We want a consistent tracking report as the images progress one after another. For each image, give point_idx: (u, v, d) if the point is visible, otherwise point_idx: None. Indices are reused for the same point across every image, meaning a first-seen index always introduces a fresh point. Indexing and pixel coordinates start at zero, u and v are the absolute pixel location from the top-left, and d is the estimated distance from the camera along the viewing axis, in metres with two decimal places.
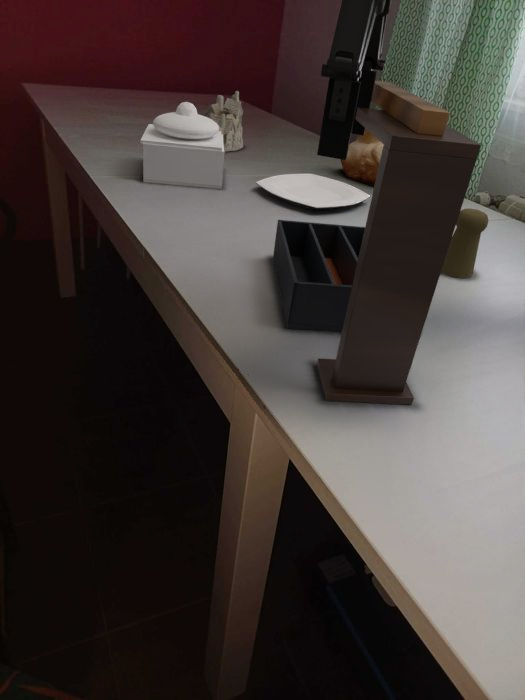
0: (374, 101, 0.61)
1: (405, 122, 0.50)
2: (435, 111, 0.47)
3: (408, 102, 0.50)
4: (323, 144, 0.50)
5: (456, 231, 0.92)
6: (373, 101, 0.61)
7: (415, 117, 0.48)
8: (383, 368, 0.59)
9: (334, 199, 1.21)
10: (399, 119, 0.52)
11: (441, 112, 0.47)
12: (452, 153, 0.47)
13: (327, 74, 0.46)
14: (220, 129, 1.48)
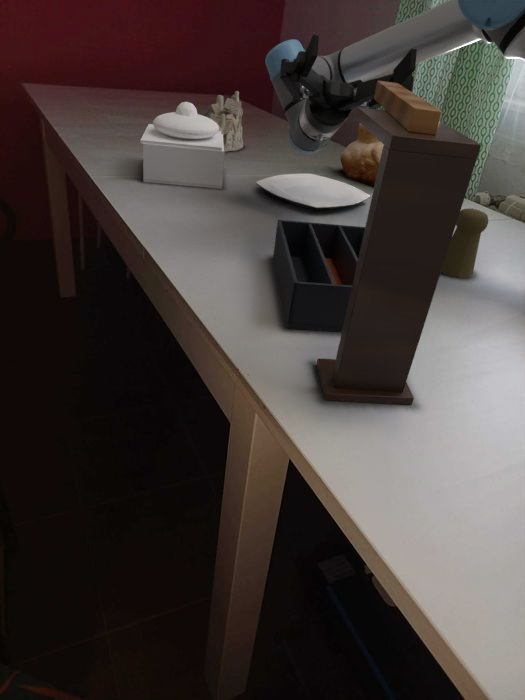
0: (379, 101, 0.61)
1: (401, 121, 0.51)
2: (427, 110, 0.47)
3: (404, 101, 0.50)
4: (310, 55, 0.72)
5: (456, 231, 0.92)
6: (379, 101, 0.61)
7: (409, 116, 0.48)
8: (383, 368, 0.59)
9: (334, 199, 1.21)
10: (397, 118, 0.52)
11: (433, 111, 0.47)
12: (452, 153, 0.47)
13: (294, 77, 0.77)
14: (220, 129, 1.48)
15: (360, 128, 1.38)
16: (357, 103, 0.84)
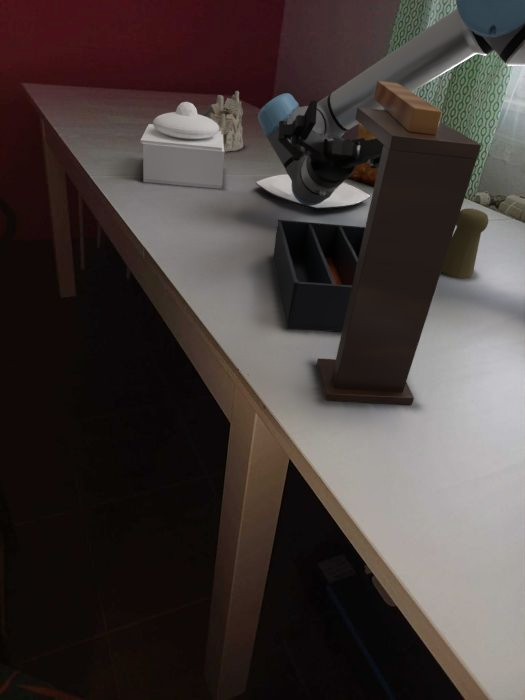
0: (379, 101, 0.61)
1: (401, 121, 0.51)
2: (427, 110, 0.47)
3: (404, 101, 0.50)
4: (308, 121, 0.68)
5: (456, 231, 0.92)
6: (379, 101, 0.61)
7: (409, 116, 0.48)
8: (383, 368, 0.59)
9: (334, 199, 1.21)
10: (397, 118, 0.52)
11: (433, 111, 0.47)
12: (452, 153, 0.47)
13: (292, 140, 0.74)
14: (220, 129, 1.48)
15: (360, 128, 1.38)
16: (360, 162, 0.80)
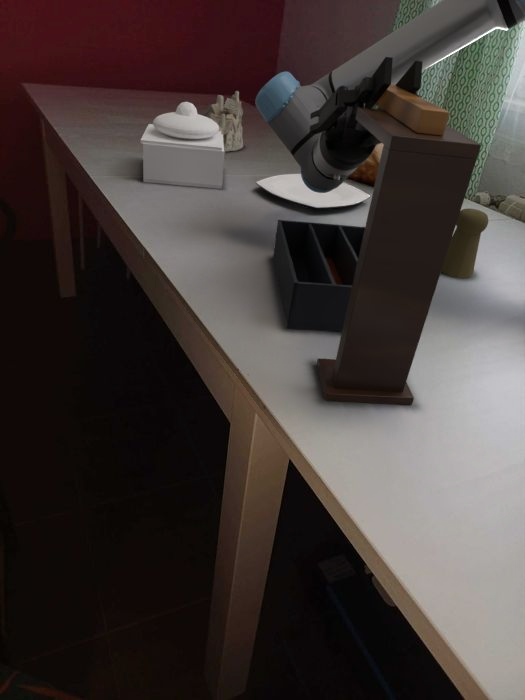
0: None
1: (405, 122, 0.50)
2: (435, 111, 0.47)
3: (408, 102, 0.50)
4: (380, 83, 0.56)
5: (456, 231, 0.92)
6: None
7: (416, 117, 0.48)
8: (383, 368, 0.59)
9: (334, 199, 1.21)
10: (399, 119, 0.52)
11: (441, 112, 0.47)
12: (452, 153, 0.47)
13: None
14: (220, 129, 1.48)
15: None
16: (372, 136, 0.70)
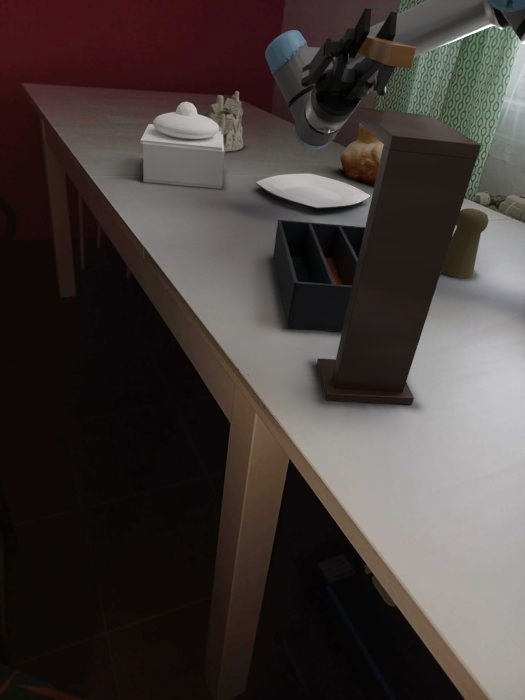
0: None
1: (380, 59, 0.59)
2: (404, 46, 0.56)
3: (383, 42, 0.59)
4: (361, 31, 0.65)
5: (456, 231, 0.92)
6: None
7: (388, 52, 0.57)
8: (383, 368, 0.59)
9: (334, 199, 1.21)
10: (376, 58, 0.61)
11: (409, 47, 0.56)
12: (452, 153, 0.47)
13: (343, 57, 0.71)
14: (220, 129, 1.48)
15: (360, 128, 1.38)
16: (357, 87, 0.79)
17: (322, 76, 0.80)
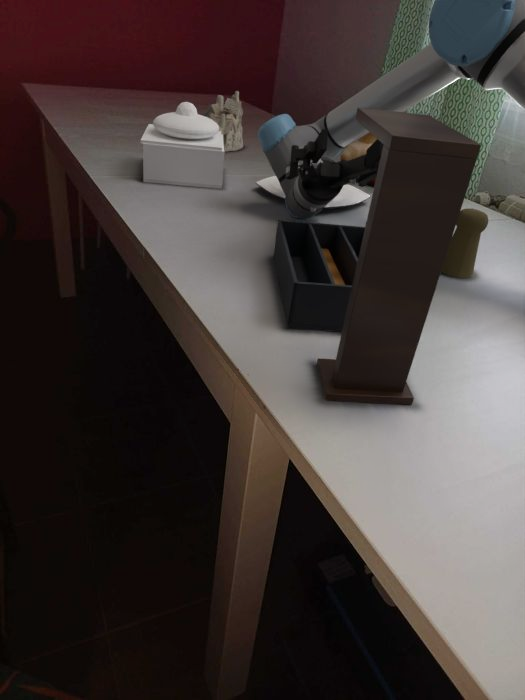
0: None
1: None
2: None
3: None
4: (319, 148, 0.74)
5: (456, 231, 0.92)
6: None
7: None
8: (383, 368, 0.59)
9: (334, 199, 1.21)
10: None
11: None
12: (452, 153, 0.47)
13: (305, 163, 0.79)
14: (220, 129, 1.48)
15: None
16: (342, 181, 0.87)
17: (307, 169, 0.88)
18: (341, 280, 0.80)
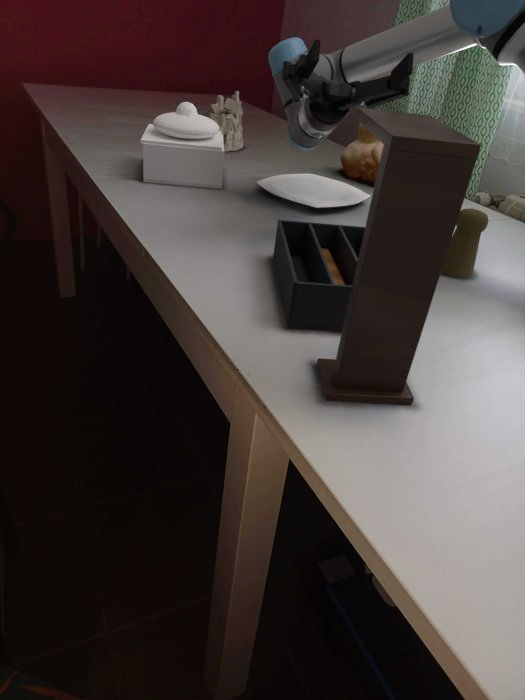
0: None
1: None
2: None
3: None
4: (312, 59, 0.75)
5: (456, 231, 0.92)
6: None
7: None
8: (383, 368, 0.59)
9: (334, 199, 1.21)
10: None
11: None
12: (452, 153, 0.47)
13: (296, 79, 0.80)
14: (220, 129, 1.48)
15: (360, 128, 1.38)
16: (355, 103, 0.88)
17: None
18: (341, 280, 0.80)
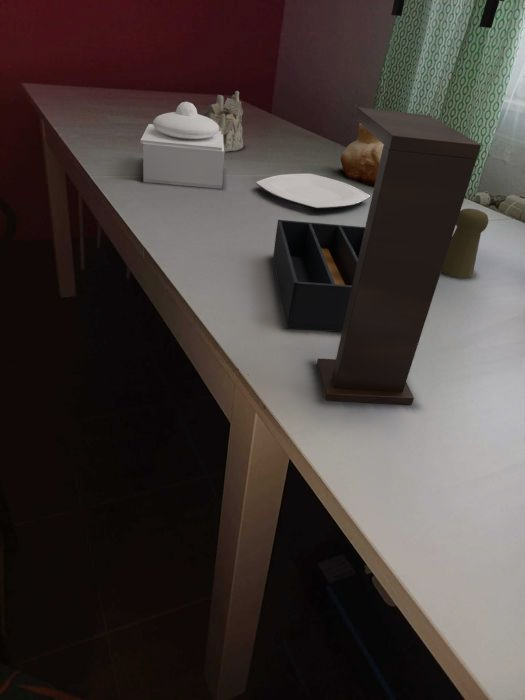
0: None
1: None
2: None
3: None
4: (393, 7, 0.78)
5: (456, 231, 0.92)
6: None
7: None
8: (383, 368, 0.59)
9: (334, 199, 1.21)
10: None
11: None
12: (452, 153, 0.47)
13: None
14: (220, 129, 1.48)
15: (360, 128, 1.38)
16: None
17: None
18: (341, 280, 0.80)
